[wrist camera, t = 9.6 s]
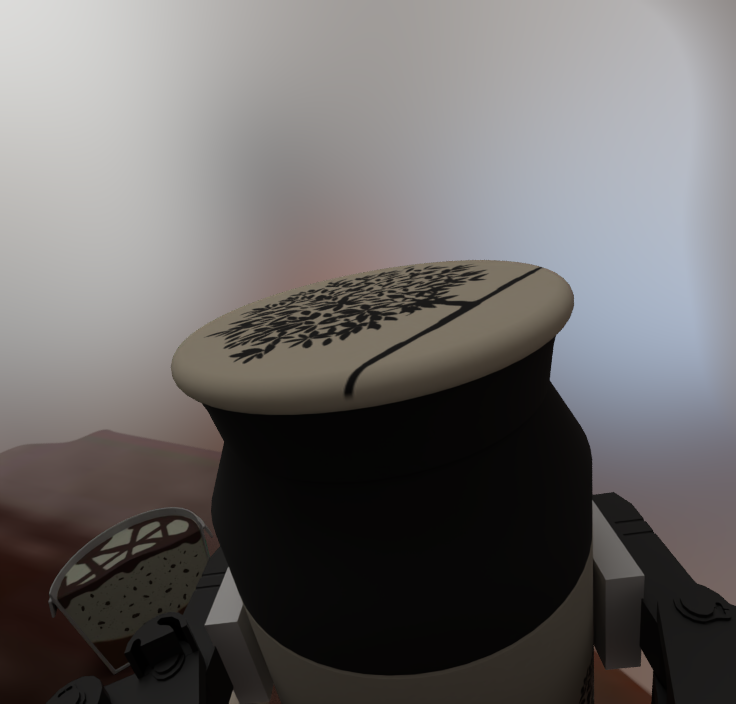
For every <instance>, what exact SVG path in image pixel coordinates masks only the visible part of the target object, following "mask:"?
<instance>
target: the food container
mask: <svg viewBox="0 0 736 704" xmlns="http://www.w3.org/2000/svg"><path fill="white" fill-rule="evenodd" d="M203 529H205V530H206V531H207V533H208V534H209V535H210V536H211V538H212V537H213V535H212V533H211V531H210V530H209V529H208V527H207V526H206V525H205V523H204V522H203V521H202V520H201V519H200V518H199V517H198V516H196V515H195V514H194V513H193V512H191V511H189V510H187V509H184V508H177V507H169V508H160V509H155V510H151V511H147V512H144V513H141V514H138V515H136V516H133V517H131V518H128V519H126V520H124V521H122V522H120V523H118V524H116V525H115V526H113V527H111V528H109V529H107V530H106V531H104V532H103V533H101V534H100V535H98V536H97V537H95V538H94V539H93V540H91V541H90V542H89V543H87V544H86V545H85V546H84V547H83V548H82V549H80V550H79V551H78V552H77V553H76V554H75V555H74V556H73V557H72V558H71V559H70V560H69V561H68V562H67V564H66V565H65V566H64V567H63V568H62V570H61V571H60V572H59V574H58V575H57V577H56V578H55V580H54V582H53V584H52V586H51V589H50V592H49V596H50V600H49V606H50V610H51V614H52V618H53V617H55V615H56V611H57V608H59V609H60V611H61V612H62V613H63V614H64V615H65V617H66V618H67V619H68V620H69V621H70V623H71V624H72V625H73V626H74V627H75V629H76V630H77V631H78V632H79V633H80V635H81V636H82V637H83V638H84V639H85V641H86V642H87V643H88V644H89V645H90V647H91V648H92V649H93V650H94V651H95V653H96V654H97V655H98V656H99V658H100V659H101V660H102V661H103V662H104V664H105V665H106V666H107V667H108V668H109V670H110V671H111V672H112V673H113V674H116V673H118V672H120V671H121V670H123V669H125V668H126V667H128V666H130V664H129V662H128V660H127V658H126V656H125V654H124V652H125V650H126V647H127V644H128V642H129V641H130V639H131V638H132V637H133V635H134V634H135V632H136V631H137V630H138V629H139V628H141V627H142V626H143V625H144V624H145V623H146V622H147V621H149V620H151V619H152V618H154V617H156V616H158V615H160V614H164V613H167V612H179V613H180V614H182V615H183V613H184V611H185V609H186V607H187V605H188V603H189V601H190V598H191V596H192V594H193V592H194V591H195V590H196V586H197V583H198V581H199V579H200V578H202V573H203V571H204V569H205V566H206V564H207V562H208V560H209V558H210V556H209V552H208V548H207V544H206V540H205V536H204V532H203Z"/></svg>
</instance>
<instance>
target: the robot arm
mask: <svg viewBox="0 0 736 704" xmlns="http://www.w3.org/2000/svg"><path fill="white" fill-rule="evenodd" d="M592 511H593V632H594V646H595V648H596V650H597V653H598V655H599V657H600V659H601V661H602V663H603V665H604V667H605V669H606V670H608V669H618V668H628V667H640V666H641V649H642V651H643V653H644V655H645V656H646V658H647V660H648V662H649V663H650V665H651V667H652V668H653V685H652V702H651V704H736V606H734V605H731V604H729V603H728V602H727V601H726V600H724V598H723V597H721V596H720V595H719V594H718V593H716V592H714V591H712V590H710V589H709V588H707V587H705V586H703V585H699V584H697V583H696V582H695V581H694V580H693V579H692V578H691V577H690V575H689V574H688V573H687V572H686V570H685V569H684V568H683V567H682V566H681V564H680V563H679V562H678V561H677V559H676V558H675V557H674V556H673V554H672V553H671V552H670V551H669V549H668V548H667V547H666V546H665V544H664V543H663V542H662V541H661V540H660V539H659V537H658V536H657V535H656V534H654V532H653V530H652V528H651V527H650V526H649V525H648V523H647V522H646V521H644V519H643V517H642V516H641V515H640V514H639V512H638V511H637V510H636V509H635V508H634V506H633V505H632V504H631V503H630V502H628V501H627V500H625V499H623V498H622V497H620V496H619V495H617V494H616V493H614V492H612V493H604V494H598V495H592ZM124 654H125V656H126V658H127V660H128V662H129V664H130V665H131V667H132V669H133V671H134V673H135V674H133V675H131V676H129V677H126V678H124V679H122V680H119V681H117V682H115V683H112V684H110V685H107V686H105V687H104V686H103V684H102V682H101V681H100V680H99V679H98V678H96V677H94V676H84V677H81V678H79V679H76V680H74V681H72V682H70V683H69V684H67V685H66V686H64V687H63V688H61V689H60V690H59V691H58V692H57V693H56V694H55V695H54V696H53V697H52V698H51V699H50V700H49V701H48V702H47V703H46V704H229V702H230V698H231V695H232V692H233V690H234V693H235V695H236V697H237V699H238V702H239V704H250V703H260V702H270V698H271V693H272V689H273V684H274V683H273V680H272V678H271V675H270V672H269V670H268V667H267V665H266V662H265V660H264V657H263V654H262V652H261V649H260V647H259V644H258V641H257V639H256V636H255V634H254V631H253V629H252V626H251V623H250V621H249V618H248V616H247V613H246V610H245V608H244V605H243V603H242V600H241V597H240V595H239V592H238V590H237V587H236V585H235V582H234V579H233V577H232V574H231V572H230V569H229V566H228V564H227V561H226V559H225V556H224V554H223V551H222V548H221V546H220V547H219V548H218V549H217V551H216V552H215V553H214V554H213V555H212V556H211V557H210V558H209V560H208V562H207V564H206V566H205V569H204V571H203V573H202V578H200V579H199V581H198V583H197V586H196V590H195V591H194V592H193V594H192V596H191V598H190V601H189V603H188V605H187V607H186V609H185V611H184V613H183V615H182V614H180V613H179V612H167V613H164V614H160V615H158V616H156V617H154V618H152V619H151V620H149V621H147V622H146V623H145V624H144V625H143V626H142V627H141V628H139V629H138V630H137V631H136V632H135V634H134V635H133V637H132V638H131V639H130V641H129V642H128V644H127V647H126V650H125V652H124Z"/></svg>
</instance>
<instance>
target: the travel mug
mask: <svg viewBox="0 0 736 704" xmlns="http://www.w3.org/2000/svg"><path fill="white" fill-rule="evenodd" d="M573 307H574V295H573V292H572V290H571V287H570V285H569V284H568V283H567V282H566V281H565V280H564V278H562V277H561V276H559V275H558V274H557V273H555V272H553V271H550V270H548V269H545V268H542V267H539V266H535V265H530V264H526V263H519V262H509V261H495V260H494V261H491V260H466V261H446V262H435V263H424V264H415V265H407V266H400V267H393V268H387V269H380V270H375V271H369V272H363V273H358V274H353V275H349V276H344V277H339V278H335V279H330V280H326V281H322V282H318V283H314V284H310V285H307V286H303V287H299V288H296V289H292V290H289V291H286V292H282V293H279V294H276V295H273V296H270V297H267V298H265V299H262V300H259V301H256V302H253V303H251V304H248V305H246V306H243V307H241V308H238V309H236V310H234V311H231V312H229V313H227V314H225V315H223V316H221V317H219V318H217V319H215V320H213V321H212V322H209V323H208V324H206V325H205V326H203V327H202V328H200V329H198V330H197V331H196V332H194V333H193V334H191V335H190V336H189V337H188V338H187V339H186V340H185V341H183V343H182V344H181V345H180V346H179V347H178V349H177V350H176V352H175V354H174V356H173V359H172V364H171V371H172V376H173V379H174V381H175V383H176V384H177V386H178V387H179V388H180V389H181V390H182V391H183V392H184V393H185V394H186V395H187V396H189V397H191V398H193V399H195V400H196V401H198V402H201V403H202V404H203V406H204V407H205V408H206V409H207V411H208V412H209V414H210V416H211V418H212V420H213V422H214V424H215V426H216V427H217V429H218V431H219V433H220V435H221V437H222V438H223V440H224V446H223V450H222V455H221V459H220V464H219V469H218V473H217V478H216V482H215V487H214V492H213V497H212V506H211V514H212V522H213V526H214V529H215V532H216V535H217V538H218V541H219V543H220V546H221V548H222V551H223V554H224V556H225V559H226V561H227V564H228V566H229V569H230V572H231V574H232V577H233V579H234V582H235V585H236V587H237V590H238V592H239V595H240V597H241V600H242V603H243V605H244V608H245V610H246V613H247V616H248V618H249V621H250V623H251V626H252V629H253V631H254V634H255V636H256V639H257V641H258V644H259V647H260V649H261V652H262V654H263V657H264V660H265V662H266V665H267V667H268V670H269V672H270V675H271V678H272V680H273V683H274V685H275V688H276V691H277V693H278V696H279V698H280V701H281V703H282V704H594V632H593V511H592V456H591V449H590V445H589V443H588V440H587V437H586V435H585V433H584V431H583V429H582V427H581V426H580V424H579V423H578V421H577V420H576V418H575V417H574V415H573V414H572V412H571V411H570V409H569V408H568V407H567V405H566V404H565V402H564V401H563V399H562V398H561V396H560V395H559V393H558V392H557V390H556V389H555V387H554V386H553V385H552V383H551V382H550V371H551V362H552V354H553V346H554V341H555V337H556V334H558V333H559V332H560V331H561V330H562V328H563V327H564V326H565V324H566V322H567V321H568V320H569V318H570V316H571V313H572V310H573Z"/></svg>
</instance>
